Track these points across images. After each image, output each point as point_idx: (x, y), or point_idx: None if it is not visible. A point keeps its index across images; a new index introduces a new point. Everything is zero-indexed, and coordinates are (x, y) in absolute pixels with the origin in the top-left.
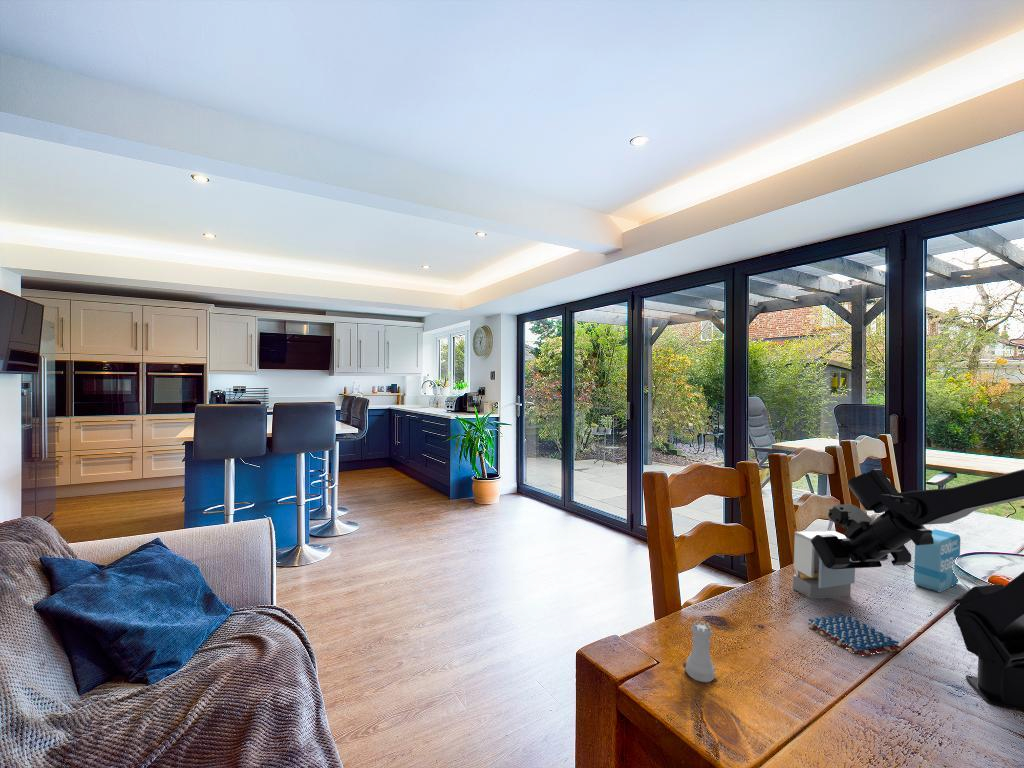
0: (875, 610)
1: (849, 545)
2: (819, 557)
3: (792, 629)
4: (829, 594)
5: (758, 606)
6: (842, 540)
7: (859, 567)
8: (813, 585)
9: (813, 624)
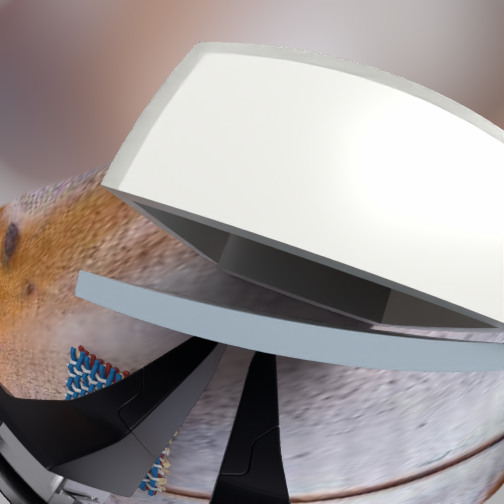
0: (338, 410)
1: (4, 496)
2: (139, 285)
3: (53, 330)
4: (298, 298)
5: (78, 237)
6: (50, 470)
7: (129, 496)
8: (227, 270)
9: (76, 357)
